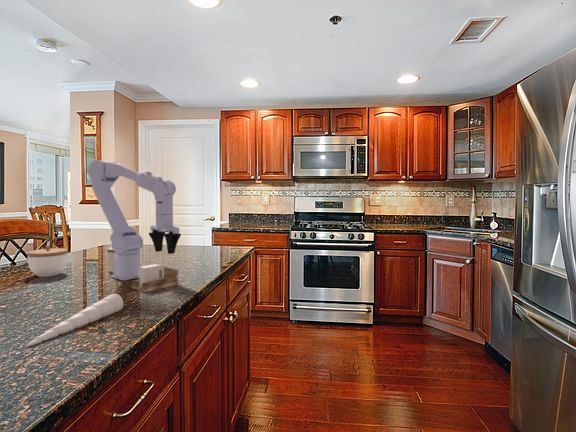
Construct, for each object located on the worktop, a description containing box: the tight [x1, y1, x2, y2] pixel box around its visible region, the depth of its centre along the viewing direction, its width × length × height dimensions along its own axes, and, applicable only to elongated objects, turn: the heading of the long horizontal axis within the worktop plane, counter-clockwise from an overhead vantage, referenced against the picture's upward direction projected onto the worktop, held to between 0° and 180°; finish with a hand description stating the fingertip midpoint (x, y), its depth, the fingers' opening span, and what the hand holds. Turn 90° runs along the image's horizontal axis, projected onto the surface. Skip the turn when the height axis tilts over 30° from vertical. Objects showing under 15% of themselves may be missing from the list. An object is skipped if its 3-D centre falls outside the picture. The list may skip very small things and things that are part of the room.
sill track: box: [131, 266, 179, 293], centre depth 113 cm, size 12×8×5 cm, turn 144°
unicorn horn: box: [25, 293, 124, 348], centre depth 78 cm, size 5×24×5 cm, turn 161°
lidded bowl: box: [26, 245, 69, 278], centre depth 129 cm, size 13×13×11 cm
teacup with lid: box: [106, 246, 116, 274], centre depth 138 cm, size 12×9×12 cm
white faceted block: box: [138, 263, 165, 286], centre depth 112 cm, size 3×7×6 cm, turn 143°
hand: (164, 252), depth 121 cm, fingers open, 7 cm apart
